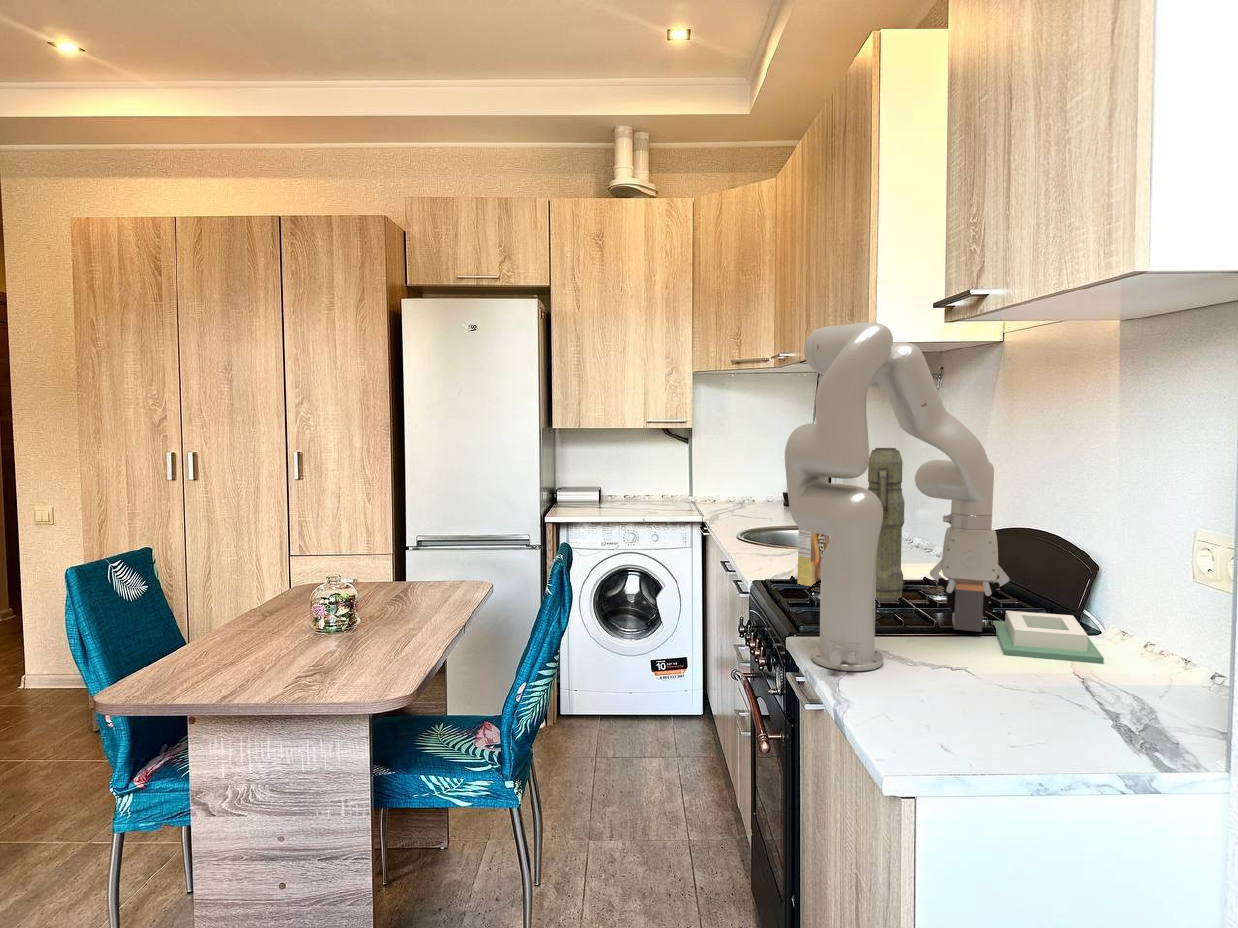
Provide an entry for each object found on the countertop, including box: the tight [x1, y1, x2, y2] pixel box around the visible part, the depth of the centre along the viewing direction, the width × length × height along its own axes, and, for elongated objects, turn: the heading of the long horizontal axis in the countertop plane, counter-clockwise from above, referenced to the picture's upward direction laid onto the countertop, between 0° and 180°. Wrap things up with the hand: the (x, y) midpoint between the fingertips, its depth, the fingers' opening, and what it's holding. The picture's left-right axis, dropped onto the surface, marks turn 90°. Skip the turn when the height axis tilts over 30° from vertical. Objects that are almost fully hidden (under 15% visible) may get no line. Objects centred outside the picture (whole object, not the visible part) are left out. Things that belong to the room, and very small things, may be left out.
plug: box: [951, 580, 984, 633], centre depth 164 cm, size 7×5×9 cm
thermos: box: [867, 447, 905, 602], centre depth 191 cm, size 9×12×35 cm
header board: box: [992, 610, 1105, 664], centre depth 156 cm, size 20×16×4 cm
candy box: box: [797, 527, 830, 587], centre depth 207 cm, size 9×4×15 cm, turn 137°
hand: (967, 611), depth 164 cm, fingers closed on plug, 5 cm apart
